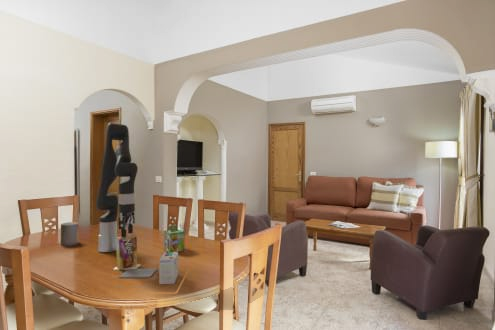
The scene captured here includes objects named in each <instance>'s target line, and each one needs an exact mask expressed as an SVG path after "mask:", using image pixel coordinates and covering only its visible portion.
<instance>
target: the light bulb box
mask: <svg viewBox="0 0 495 330" xmlns="http://www.w3.org/2000/svg"><path fill="white" fill-rule="evenodd" d="M158 263H159V264H158V266H159V271H158V272H159V273H158V274H159V279H158V280H159V281H158V282H159V283H158V284H159V285H174V284H175V283H176V280H177V278H178V276H179V252H167V251H165V252H163V253H162V256H161V257H160V258H159V259H158Z"/></svg>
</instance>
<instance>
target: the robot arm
mask: <svg viewBox="0 0 495 330" xmlns="http://www.w3.org/2000/svg"><path fill="white" fill-rule="evenodd" d="M113 141H120V142H121V143H119V145H118V146H116V149H114V146H113ZM104 145H105V146H104V147H105V148H104V154H103V159H102V160H103V161H102V166H101V175H100V180H99V182H100V183H99V187H98V192H97V196H96V200H95V201H96V202H95V204H96V205H95V206H96V208H97V210H98V211H107V212H106V213H104V214H102V215H101V216H100V217H99V234H98V236H97V239H98V240H97V245H98V247H97V249H98V251H97V252H99V253H112V252H114V251H115V252H116V251H117V248H116V237H118V230H120V237H126V236H127V233H128V234H134V224H136V223H135V222H136V220H135V216H136V215H135V211H136V199H135V198H136V197H135V181H136V177H137V174H138V165H137V163H135V162H132V155H131V150H130V133H129V127H128V126H127V125H125V124H120V123H113V122H109V123H108V124H107V126H106V131H105V144H104ZM118 177H119V178H122V177H123V178H126V177H128V180H125V181H120V182H119V184H118V196H117V194H115V193H109V192H108V191H109V188H110V187H111V186H112V184H113V183H114V182H115V180H117V178H118ZM118 213H120V214H121V216H118V215H119V214H118ZM117 222H118V224H117ZM117 227H118V228H117Z"/></svg>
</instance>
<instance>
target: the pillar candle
mask: <svg viewBox="0 0 495 330" xmlns="http://www.w3.org/2000/svg"><path fill="white" fill-rule="evenodd" d="M78 244H79V222H78V221H77V222H74V221H73V222H72V221H71V222H70V221H68V222H64V223H61V224H60V246H64V247H66V246H67V247H68V246H74V245H78Z"/></svg>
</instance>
